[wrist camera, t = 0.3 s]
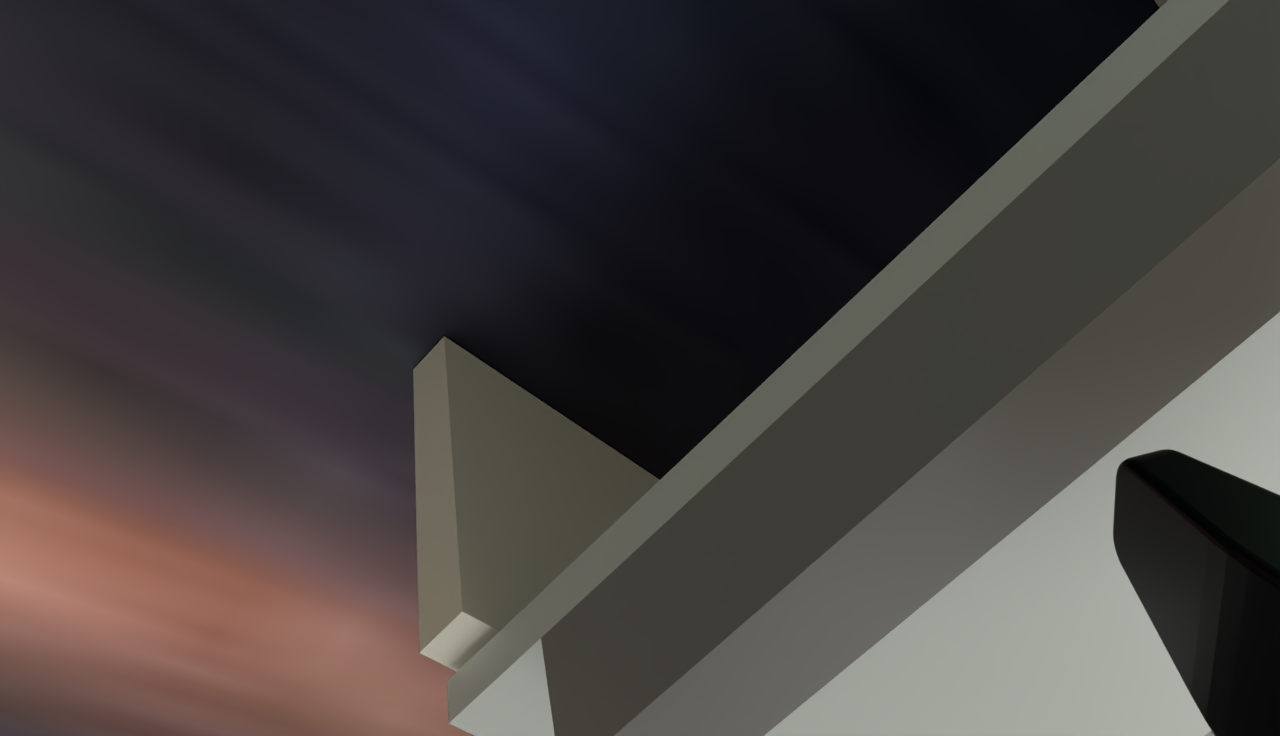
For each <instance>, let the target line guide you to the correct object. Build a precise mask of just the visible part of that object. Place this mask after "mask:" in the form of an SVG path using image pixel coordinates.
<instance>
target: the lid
mask: <svg viewBox="0 0 1280 736" xmlns="http://www.w3.org/2000/svg"><path fill="white" fill-rule="evenodd" d="M1164 449H1171V450H1175V451H1178V452H1181V453H1183V454H1186V455H1188V456H1190V457H1193V458H1195V459H1197V460H1200V461H1202V462H1204V463H1207V464H1209V465H1211V466H1214V467H1216V468H1218V469H1221V470H1223V471H1225V472H1228V473H1230V474H1232V475H1235V476H1237V477H1239V478H1242V479H1244V480H1246V481H1248V482H1251V483H1253V484H1255V485H1258V486H1260V487H1262V488H1265V489H1267V490H1269V491H1272V492H1274V493H1276V494H1279V495H1280V0H1168V1H1167V2H1166V3H1165V4H1164V5H1163V6H1162V7H1161V8H1160V9H1158V10H1157V11H1156V12H1155V13H1154V14H1153V15H1152V16H1151V17H1150V18H1149V19H1148V20H1147V21H1146V22H1145V23H1144V24H1143V25H1141V26H1140V27H1139V28H1138V29H1137V30H1136V31H1135V32H1134V33H1133V34H1132V35H1131V36H1130V37H1129V38H1128V39H1127V40H1126V41H1125V42H1123V43H1122V44H1121V45H1120V46H1119V47H1118V48H1117V49H1116V50H1115V51H1114V52H1113V53H1112V54H1111V55H1110V56H1109V57H1108V58H1107V59H1105V60H1104V61H1103V62H1102V63H1101V64H1100V65H1099V66H1098V67H1097V68H1096V69H1095V70H1094V71H1093V72H1092V73H1091V74H1090V75H1089V76H1087V77H1086V78H1085V79H1084V80H1083V81H1082V82H1081V83H1080V84H1079V85H1078V86H1077V87H1076V88H1075V89H1074V90H1073V91H1072V92H1071V93H1069V94H1068V95H1067V96H1066V97H1065V98H1064V99H1063V100H1062V101H1061V102H1060V103H1059V104H1058V105H1057V106H1056V107H1055V108H1054V109H1052V110H1051V111H1050V112H1049V113H1048V114H1047V115H1046V116H1045V117H1044V118H1043V119H1042V120H1041V121H1040V122H1039V123H1038V124H1037V125H1036V126H1034V127H1033V128H1032V129H1031V130H1030V131H1029V132H1028V133H1027V134H1026V135H1025V136H1024V137H1023V138H1022V139H1021V140H1020V141H1019V142H1018V143H1016V144H1015V145H1014V146H1013V147H1012V148H1011V149H1010V150H1009V151H1008V152H1007V153H1006V154H1005V155H1004V156H1003V157H1002V158H1001V159H1000V160H998V161H997V162H996V163H995V164H994V165H993V166H992V167H991V168H990V169H989V170H988V171H987V172H986V173H985V174H984V175H983V176H982V177H980V178H979V179H978V180H977V181H976V182H975V183H974V184H973V185H972V186H971V187H970V188H969V189H968V190H967V191H966V192H965V193H964V194H962V195H961V196H960V197H959V198H958V199H957V200H956V201H955V202H954V203H953V204H952V205H951V206H950V207H949V208H948V209H947V210H945V211H944V212H943V213H942V214H941V215H940V216H939V217H938V218H937V219H936V220H935V221H934V222H933V223H932V224H931V225H930V226H929V227H927V228H926V229H925V230H924V231H923V232H922V233H921V234H920V235H919V236H918V237H917V238H916V239H915V240H914V241H913V242H912V243H911V244H909V245H908V246H907V247H906V248H905V249H904V250H903V251H902V252H901V253H900V254H899V255H898V256H897V257H896V258H895V259H894V260H893V261H891V262H890V263H889V264H888V265H887V266H886V267H885V268H884V269H883V270H882V271H881V272H880V273H879V274H878V275H877V276H876V277H875V278H873V279H872V280H871V281H870V282H869V283H868V284H867V285H866V286H865V287H864V288H863V289H862V290H861V291H860V292H859V293H858V294H857V295H855V296H854V297H853V298H852V299H851V300H850V301H849V302H848V303H847V304H846V305H845V306H844V307H843V308H842V309H841V310H840V311H839V312H837V313H836V314H835V315H834V316H833V317H832V318H831V319H830V320H829V321H828V322H827V323H826V324H825V325H824V326H823V327H822V328H820V329H819V330H818V331H817V332H816V333H815V334H814V335H813V336H812V337H811V338H810V339H809V340H808V341H807V342H806V343H805V344H804V345H802V346H801V347H800V348H799V349H798V350H797V351H796V352H795V353H794V354H793V355H792V356H791V357H790V358H789V359H788V360H787V361H786V362H784V363H783V364H782V365H781V366H780V367H779V368H778V369H777V370H776V371H775V372H774V373H773V374H772V375H771V376H770V377H769V378H768V379H766V380H765V381H764V382H763V383H762V384H761V385H760V386H759V387H758V388H757V389H756V390H755V391H754V392H753V393H752V394H751V395H750V396H748V397H747V398H746V399H745V400H744V401H743V402H742V403H741V404H740V405H739V406H738V407H737V408H736V409H735V410H734V411H733V412H731V413H730V414H729V415H728V416H727V417H726V418H725V419H724V420H723V421H722V422H721V423H720V424H719V425H718V426H717V427H716V428H715V429H713V430H712V431H711V432H710V433H709V434H708V435H707V436H706V437H705V438H704V439H703V440H702V441H701V442H700V443H699V444H698V445H697V446H695V447H694V448H693V449H692V450H691V451H690V452H689V453H688V454H687V455H686V456H685V457H684V458H683V459H682V460H681V461H680V462H679V463H677V464H676V465H675V466H674V467H673V468H672V469H671V470H670V471H669V472H668V473H667V474H666V475H665V476H664V477H663V478H662V479H661V480H659V481H658V482H657V483H656V484H655V485H654V486H653V487H652V488H651V489H650V490H649V491H648V492H647V493H646V494H645V495H644V496H643V497H641V498H640V499H639V500H638V501H637V502H636V503H635V504H634V505H633V506H632V507H631V508H630V509H629V510H628V511H627V512H626V513H624V514H623V515H622V516H621V517H620V518H619V519H618V520H617V521H616V522H615V523H614V524H613V525H612V526H611V527H610V528H609V529H608V530H606V531H605V532H604V533H603V534H602V535H601V536H600V537H599V538H598V539H597V540H596V541H595V542H594V543H593V544H592V545H591V546H590V547H588V548H587V549H586V550H585V551H584V552H583V553H582V554H581V555H580V556H579V557H578V558H577V559H576V560H575V561H574V562H573V563H572V564H570V565H569V566H568V567H567V568H566V569H565V570H564V571H563V572H562V573H561V574H560V575H559V576H558V577H557V578H556V579H555V580H554V581H552V582H551V583H550V584H549V585H548V586H547V587H546V588H545V589H544V590H543V591H542V592H541V593H540V594H539V595H538V596H537V597H536V598H534V599H533V600H532V601H531V602H530V603H529V604H528V605H527V606H526V607H525V608H524V609H523V610H522V611H521V612H520V613H519V614H517V615H516V616H515V617H514V618H513V619H512V620H511V621H510V622H509V623H508V624H507V625H506V626H505V627H504V628H503V629H502V630H501V631H499V632H498V633H497V634H496V635H495V636H494V637H493V638H492V639H491V640H490V641H489V642H488V643H487V644H486V645H485V646H484V647H483V648H481V649H480V650H479V651H478V652H477V653H476V654H475V655H474V656H473V657H472V658H471V659H470V660H469V661H468V662H467V663H466V664H465V665H463V666H462V667H461V668H460V669H459V670H458V671H457V672H456V673H455V674H454V675H453V676H452V677H451V678H450V679H449V680H448V681H447V696H448V717H449V724H451V725H453V726H455V727H457V728H460V729H462V730H464V731H466V732H468V733H470V734H472V735H474V736H1205V735H1206V734H1207V733H1209V732H1210V731H1212V730H1211V729H1210V727H1209V726H1208V724H1207V723H1206V721H1205V719H1204V718H1203V716H1202V714H1201V712H1200V711H1199V709H1198V707H1197V705H1196V704H1195V702H1194V700H1193V698H1192V697H1191V695H1190V693H1189V691H1188V689H1187V687H1186V685H1185V684H1184V682H1183V680H1182V678H1181V676H1180V674H1179V672H1178V670H1177V669H1176V667H1175V665H1174V663H1173V661H1172V659H1171V657H1170V655H1169V654H1168V652H1167V650H1166V648H1165V646H1164V644H1163V642H1162V640H1161V639H1160V637H1159V635H1158V633H1157V631H1156V629H1155V627H1154V626H1153V624H1152V622H1151V620H1150V618H1149V616H1148V614H1147V612H1146V611H1145V609H1144V607H1143V605H1142V603H1141V601H1140V599H1139V597H1138V596H1137V594H1136V592H1135V590H1134V588H1133V586H1132V584H1131V583H1130V581H1129V579H1128V577H1127V575H1126V573H1125V571H1124V569H1123V568H1122V566H1121V564H1120V561H1119V559H1118V556H1117V554H1116V550H1115V546H1114V541H1113V521H1114V503H1115V486H1116V474H1117V469H1118V467H1119V465H1120V464H1121V463H1122V462H1123V461H1124V460H1126V459H1128V458H1131V457H1135V456H1139V455H1143V454H1146V453H1150V452H1154V451H1158V450H1164Z"/></svg>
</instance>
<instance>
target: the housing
mask: <svg viewBox="0 0 1280 736" xmlns="http://www.w3.org/2000/svg"><path fill="white" fill-rule="evenodd" d="M1154 1H1155V2H1156V4H1157V5H1158V6H1159V7H1160V8H1161V7H1162V6H1163V5H1164V4H1165V3H1166V2H1167V1H1168V0H1154ZM413 384H414V430H415V476H416V521H417V567H418V613H419V653H421V654H423V655H425V656H427V657H429V658H431V659H433V660H435V661H437V662H439V663H441V664H443V665H445V666H447V667H449V668H451V669H453V670H455V671H458V670H459V669H460V668H461V667H462V666H463V665H465V664H466V663H467V662H468V661H469V660H470V659H471V658H472V657H473V656H474V655H475V654H476V653H477V652H478V651H479V650H480V649H481V648H483V647H484V646H485V645H486V644H487V643H488V642H489V641H490V640H491V639H492V638H493V637H494V636H495V635H496V634H497V633H498V632H499V631H501V630H502V629H503V628H504V627H505V626H506V625H507V624H508V623H509V622H510V621H511V620H512V619H513V618H514V617H515V616H516V615H517V614H519V613H520V612H521V611H522V610H523V609H524V608H525V607H526V606H527V605H528V604H529V603H530V602H531V601H532V600H533V599H534V598H536V597H537V596H538V595H539V594H540V593H541V592H542V591H543V590H544V589H545V588H546V587H547V586H548V585H549V584H550V583H551V582H552V581H554V580H555V579H556V578H557V577H558V576H559V575H560V574H561V573H562V572H563V571H564V570H565V569H566V568H567V567H568V566H569V565H570V564H572V563H573V562H574V561H575V560H576V559H577V558H578V557H579V556H580V555H581V554H582V553H583V552H584V551H585V550H586V549H587V548H588V547H590V546H591V545H592V544H593V543H594V542H595V541H596V540H597V539H598V538H599V537H600V536H601V535H602V534H603V533H604V532H605V531H606V530H608V529H609V528H610V527H611V526H612V525H613V524H614V523H615V522H616V521H617V520H618V519H619V518H620V517H621V516H622V515H623V514H624V513H626V512H627V511H628V510H629V509H630V508H631V507H632V506H633V505H634V504H635V503H636V502H637V501H638V500H639V499H640V498H641V497H643V496H644V495H645V494H646V493H647V492H648V491H649V490H650V489H651V488H652V487H653V486H654V485H655V484H656V483H657V482H658V481H659V479H658V478H656V477H655V476H653V475H652V474H650V473H649V472H647V471H646V470H644V469H643V468H641V467H640V466H638V465H637V464H635V463H634V462H632V461H631V460H629V459H628V458H626V457H625V456H623V455H622V454H620V453H619V452H617V451H616V450H614V449H613V448H611V447H610V446H608V445H607V444H605V443H604V442H602V441H601V440H599V439H598V438H596V437H595V436H593V435H592V434H590V433H589V432H587V431H586V430H584V429H583V428H581V427H580V426H578V425H577V424H575V423H574V422H572V421H571V420H569V419H568V418H566V417H565V416H563V415H562V414H560V413H559V412H557V411H556V410H554V409H553V408H551V407H550V406H548V405H547V404H545V403H544V402H542V401H541V400H539V399H538V398H536V397H535V396H533V395H532V394H530V393H529V392H527V391H526V390H524V389H523V388H521V387H520V386H518V385H517V384H515V383H514V382H512V381H511V380H509V379H508V378H506V377H505V376H503V375H502V374H500V373H499V372H497V371H496V370H494V369H493V368H491V367H490V366H488V365H487V364H485V363H484V362H482V361H481V360H479V359H478V358H476V357H475V356H473V355H472V354H470V353H469V352H467V351H466V350H464V349H463V348H461V347H460V346H458V345H457V344H455V343H454V342H452V341H451V340H449V339H448V338H446V337H445V336H444V337H443V338H442V339H441V340H440V341H439V342H438V343H437V344H436V346H435V347H434V348H433V349H432V350H431V351H430V352H429V353H428V354H427V355H426V356H425V357H424V359H423V360H422V361H421V362H420V363H419V364H418V365H417V366H416V367H415V368H414V369H413ZM1205 736H1215V735H1214V733H1213V732H1212V731H1210V732H1209V733H1207V734H1206V735H1205Z"/></svg>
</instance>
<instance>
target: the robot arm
mask: <svg viewBox="0 0 1280 736" xmlns="http://www.w3.org/2000/svg"><path fill="white" fill-rule="evenodd" d="M1113 541H1114V546H1115V550H1116V554H1117V556H1118V559H1119V561H1120V564H1121V566H1122V568H1123V569H1124V571H1125V573H1126V575H1127V577H1128V579H1129V581H1130V583H1131V584H1132V586H1133V588H1134V590H1135V592H1136V594H1137V596H1138V597H1139V599H1140V601H1141V603H1142V605H1143V607H1144V609H1145V611H1146V612H1147V614H1148V616H1149V618H1150V620H1151V622H1152V624H1153V626H1154V627H1155V629H1156V631H1157V633H1158V635H1159V637H1160V639H1161V640H1162V642H1163V644H1164V646H1165V648H1166V650H1167V652H1168V654H1169V655H1170V657H1171V659H1172V661H1173V663H1174V665H1175V667H1176V669H1177V670H1178V672H1179V674H1180V676H1181V678H1182V680H1183V682H1184V684H1185V685H1186V687H1187V689H1188V691H1189V693H1190V695H1191V697H1192V698H1193V700H1194V702H1195V704H1196V705H1197V707H1198V709H1199V711H1200V712H1201V714H1202V716H1203V718H1204V719H1205V721H1206V723H1207V724H1208V726H1209V727H1210V729H1211V730H1212V732H1213V733H1214V735H1215V736H1280V495H1279V494H1276V493H1274V492H1272V491H1269V490H1267V489H1265V488H1262V487H1260V486H1258V485H1255V484H1253V483H1251V482H1248V481H1246V480H1244V479H1242V478H1239V477H1237V476H1235V475H1232V474H1230V473H1228V472H1225V471H1223V470H1221V469H1218V468H1216V467H1214V466H1211V465H1209V464H1207V463H1204V462H1202V461H1200V460H1197V459H1195V458H1193V457H1190V456H1188V455H1186V454H1183V453H1181V452H1178V451H1175V450H1171V449H1164V450H1158V451H1154V452H1150V453H1146V454H1143V455H1139V456H1135V457H1131V458H1128V459H1126V460H1124V461H1123V462H1122V463H1121V464H1120V465H1119V467H1118V469H1117V474H1116V486H1115V503H1114V521H1113Z"/></svg>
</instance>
